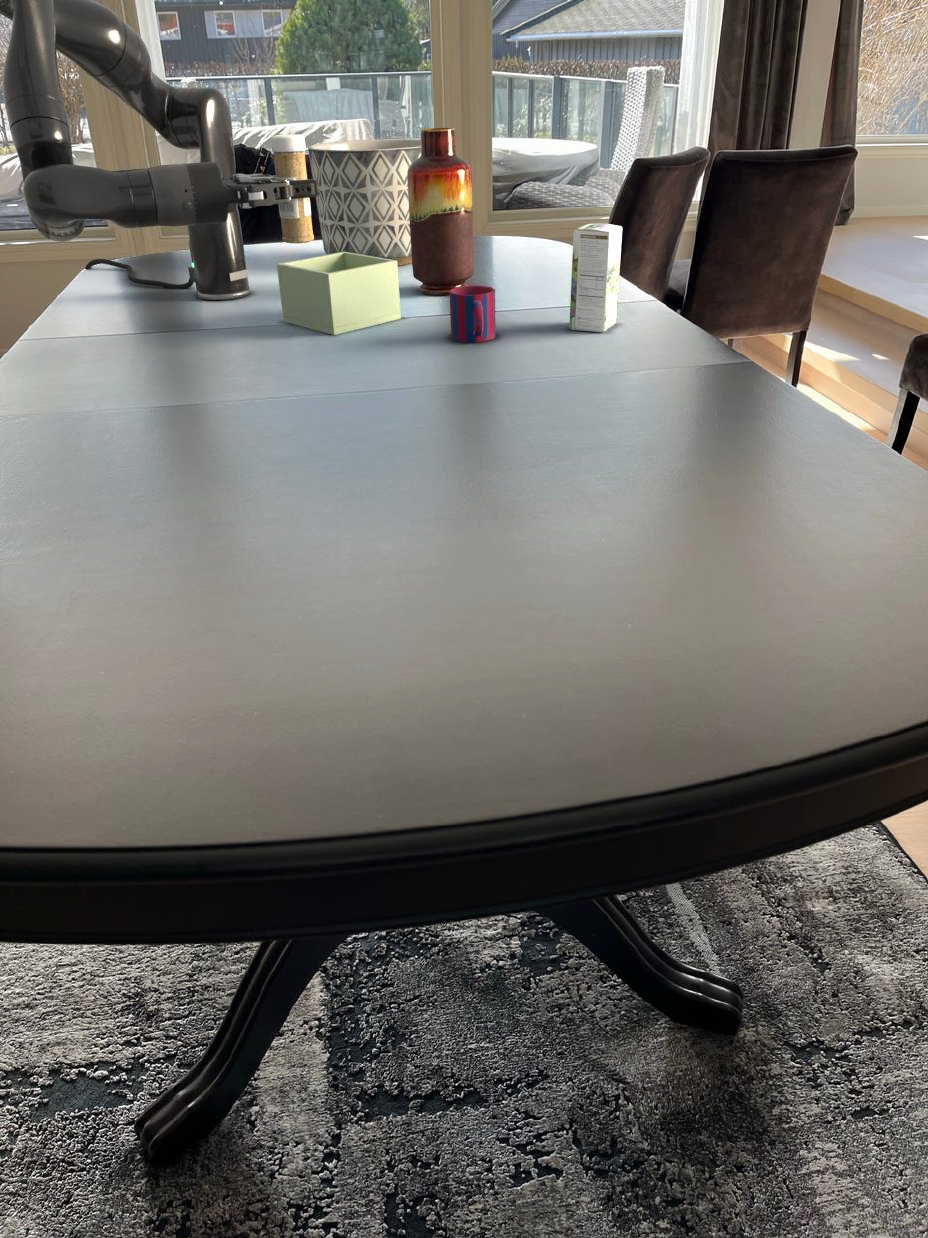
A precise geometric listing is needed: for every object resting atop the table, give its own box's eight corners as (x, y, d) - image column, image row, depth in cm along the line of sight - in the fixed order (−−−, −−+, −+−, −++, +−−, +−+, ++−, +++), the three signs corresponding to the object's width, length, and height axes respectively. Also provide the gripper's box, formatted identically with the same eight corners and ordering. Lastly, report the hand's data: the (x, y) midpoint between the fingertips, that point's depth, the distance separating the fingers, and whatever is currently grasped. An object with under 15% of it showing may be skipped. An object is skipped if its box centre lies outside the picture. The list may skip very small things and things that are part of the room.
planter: (391, 245, 214) (384, 137, 203) (469, 258, 197) (466, 141, 186) (295, 262, 199) (282, 146, 188) (370, 278, 182) (361, 152, 171)
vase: (403, 295, 168) (393, 131, 155) (428, 282, 177) (421, 126, 164) (460, 298, 165) (455, 130, 151) (483, 285, 174) (480, 125, 160)
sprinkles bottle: (320, 240, 133) (311, 134, 126) (294, 245, 131) (282, 136, 124) (301, 237, 136) (291, 132, 129) (275, 241, 133) (263, 135, 127)
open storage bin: (283, 321, 154) (276, 263, 149) (349, 306, 162) (344, 251, 157) (334, 335, 145) (328, 274, 141) (400, 318, 153) (397, 260, 149)
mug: (494, 330, 145) (493, 284, 141) (498, 347, 136) (497, 299, 133) (450, 332, 145) (449, 286, 141) (451, 349, 136) (450, 300, 133)
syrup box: (581, 321, 148) (584, 222, 141) (617, 324, 146) (622, 223, 138) (568, 330, 144) (571, 228, 136) (605, 333, 141) (610, 229, 134)
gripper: (190, 168, 118) (323, 160, 123) (174, 159, 129) (297, 151, 134) (200, 232, 122) (328, 221, 127) (184, 218, 133) (302, 208, 138)
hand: (311, 185), depth 131 cm, fingers closed on sprinkles bottle, 4 cm apart
